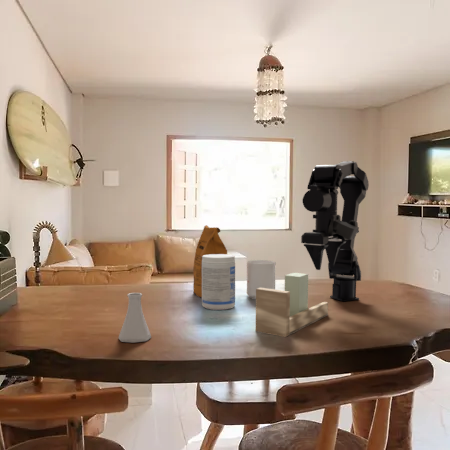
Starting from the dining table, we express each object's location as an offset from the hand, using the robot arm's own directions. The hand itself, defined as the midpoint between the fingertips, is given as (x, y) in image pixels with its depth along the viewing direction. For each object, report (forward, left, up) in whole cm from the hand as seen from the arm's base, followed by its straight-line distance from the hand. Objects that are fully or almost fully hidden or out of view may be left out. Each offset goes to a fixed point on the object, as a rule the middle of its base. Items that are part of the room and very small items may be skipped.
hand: (325, 267), depth 129 cm
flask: (+54, +4, -12) cm, 56 cm away
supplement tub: (+25, -16, -12) cm, 32 cm away
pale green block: (+14, +6, -12) cm, 19 cm away
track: (+14, +6, -12) cm, 19 cm away
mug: (+7, -24, -12) cm, 28 cm away
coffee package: (+21, -32, -12) cm, 40 cm away
